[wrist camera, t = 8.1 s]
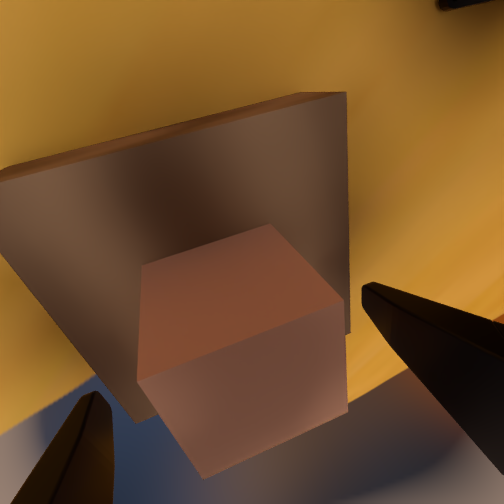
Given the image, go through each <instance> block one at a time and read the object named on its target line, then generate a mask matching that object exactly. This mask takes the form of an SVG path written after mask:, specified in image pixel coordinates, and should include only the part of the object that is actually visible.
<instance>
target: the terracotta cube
mask: <svg viewBox="0 0 504 504" xmlns="http://www.w3.org/2000/svg"><path fill="white" fill-rule="evenodd" d="M137 383H138V384H139V386H140V387H141V389H142V390H143V392H144V393H145V395H146V396H147V398H148V399H149V400H150V402H151V403H152V405H153V406H154V408H155V409H156V411H157V412H158V414H159V415H160V417H161V418H162V420H163V421H164V423H165V424H166V426H167V427H168V428H169V430H170V431H171V433H172V434H173V436H174V437H175V439H176V440H177V442H178V443H179V445H180V446H181V448H182V449H183V451H184V452H185V454H186V455H187V457H188V458H189V459H190V461H191V462H192V464H193V465H194V467H195V468H196V470H197V471H198V473H199V474H200V476H201V477H202V479H203V480H204V479H206V478H208V477H210V476H212V475H214V474H217V473H219V472H221V471H223V470H225V469H227V468H229V467H231V466H234V465H236V464H238V463H240V462H242V461H244V460H246V459H249V458H251V457H253V456H255V455H257V454H259V453H261V452H264V451H266V450H268V449H270V448H272V447H274V446H276V445H279V444H281V443H283V442H285V441H287V440H289V439H291V438H293V437H296V436H298V435H300V434H302V433H304V432H306V431H308V430H310V429H313V428H315V427H317V426H319V425H321V424H323V423H326V422H328V421H330V420H332V419H334V418H336V417H338V416H341V415H343V414H345V413H347V412H348V400H347V372H346V344H345V316H344V300H343V299H342V298H341V297H340V295H339V294H338V293H337V292H336V291H335V290H334V289H333V288H332V287H331V286H330V285H329V284H328V283H327V282H326V281H325V280H324V279H323V278H322V277H321V276H320V275H319V274H318V273H317V272H316V270H315V269H314V268H313V267H312V266H311V265H310V264H309V263H308V262H307V261H306V260H305V259H304V258H303V257H302V256H301V255H300V254H299V253H298V252H297V251H296V250H295V249H294V248H293V246H292V245H291V244H290V243H289V242H288V241H287V240H286V239H285V238H284V237H283V236H282V235H281V234H280V233H279V232H278V231H277V230H276V229H275V228H274V227H273V226H272V225H271V224H267V225H263V226H260V227H257V228H254V229H251V230H248V231H245V232H242V233H239V234H236V235H233V236H230V237H227V238H224V239H221V240H218V241H215V242H212V243H209V244H206V245H203V246H200V247H197V248H193V249H190V250H187V251H184V252H181V253H178V254H175V255H172V256H169V257H166V258H163V259H160V260H157V261H154V262H151V263H148V264H145V265H142V271H141V294H140V318H139V341H138V365H137Z"/></svg>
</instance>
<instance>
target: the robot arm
mask: <svg viewBox="0 0 504 504" xmlns="http://www.w3.org/2000/svg"><path fill="white" fill-rule="evenodd" d="M489 1H494V0H439V6H440V8H441V9H442V10H443V11H449V10H454V9H458V8H463V7H467V6H472V5H476V4H481V3H485V2H489ZM362 306H363V308H364V310H365V312H366V313H367V314H368V316H369V317H370V319H371V320H372V321H373V323H374V324H375V326H376V327H377V329H378V330H379V331H380V333H381V334H382V336H383V337H384V338H385V340H386V341H387V342H388V344H389V345H390V346H391V348H392V349H393V350H394V351H395V352H396V353H397V355H398V356H399V357H400V358H401V359H402V360H403V361H404V363H405V364H406V365H407V366H408V367H409V368H410V369H411V371H412V372H413V373H414V374H415V375H416V376H417V377H418V379H419V380H420V381H421V382H422V383H423V384H424V385H425V386H426V388H427V389H428V390H429V391H430V392H431V393H432V395H433V396H434V397H435V398H436V399H437V400H438V401H439V403H440V404H441V405H442V406H443V407H444V408H445V410H447V412H448V413H449V414H450V415H451V416H452V417H453V419H454V420H455V421H456V422H457V423H458V424H459V426H461V428H462V429H463V430H464V431H465V432H466V434H467V435H468V436H469V437H470V438H471V439H472V440H473V441H474V443H475V444H476V445H477V446H478V447H479V448H480V450H482V452H483V453H484V454H485V455H486V456H487V458H488V459H489V460H490V461H491V462H492V463H493V464H494V465H495V467H496V468H497V469H498V470H499V471H500V473H501V474H502V475H504V324H502V323H499V322H496V321H493V322H492V320H490V319H487V318H484V317H480V316H477V315H474V314H471V313H468V312H465V311H462V310H459V309H456V308H453V307H450V306H447V305H444V304H441V303H438V302H435V301H432V300H429V299H425V298H422V297H419V296H416V295H413V294H410V293H407V292H404V291H401V290H398V289H395V288H392V287H389V286H386V285H383V284H380V283H377V282H370V283H368V284H365V285H363V286H362ZM114 464H115V463H114V441H113V423H112V411H111V407H110V405H109V404H108V402H107V401H106V400H105V399H104V397H103V396H102V395H101V394H100V393H99V392H98V391H93V392H90V393H88V394H85V395H83V396H82V397H81V398H80V399H79V400H78V402H77V404H76V405H75V406H74V408H73V410H72V411H71V413H70V414H69V416H68V417H67V419H66V420H65V422H64V423H63V425H62V426H61V428H60V429H59V431H58V433H57V434H56V435H55V437H54V438H53V440H52V441H51V443H50V444H49V446H48V447H47V449H46V450H45V452H44V454H43V455H42V456H41V458H40V460H39V461H38V463H37V464H36V466H35V467H34V469H33V470H32V472H31V474H30V475H29V476H28V478H27V479H26V481H25V482H24V484H23V485H22V487H21V488H20V490H19V491H18V493H17V494H16V496H15V497H14V499H13V501H12V502H11V504H113V489H114V470H115V469H114V468H115V465H114Z"/></svg>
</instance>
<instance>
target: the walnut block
mask: <svg viewBox="0 0 504 504" xmlns="http://www.w3.org/2000/svg"><path fill="white" fill-rule="evenodd" d="M267 224H271V225H272V226H273V227H274V228H275V229H276V230H277V231H278V232H279V233H280V234H281V235H282V236H283V237H284V238H285V239H286V240H287V241H288V242H289V243H290V244H291V245H292V246H293V248H294V249H295V250H296V251H297V252H298V253H299V254H300V255H301V256H302V257H303V258H304V259H305V260H306V261H307V262H308V263H309V264H310V265H311V266H312V267H313V268H314V269H315V270H316V272H317V273H318V274H319V275H320V276H321V277H322V278H323V279H324V280H325V281H326V282H327V283H328V284H329V285H330V286H331V287H332V288H333V289H334V290H335V291H336V292H337V293H338V294H339V295H340V297H341V298H342V299H343V300H344V316H345V335H347V334H349V333H351V332H350V273H349V214H348V155H347V96H346V92H300V93H296V94H292V95H288V96H284V97H280V98H276V99H272V100H268V101H264V102H260V103H256V104H252V105H248V106H244V107H241V108H237V109H233V110H229V111H225V112H221V113H217V114H213V115H209V116H205V117H201V118H197V119H193V120H189V121H185V122H181V123H178V124H174V125H170V126H166V127H162V128H158V129H154V130H150V131H146V132H142V133H138V134H134V135H130V136H126V137H122V138H118V139H115V140H111V141H107V142H103V143H99V144H95V145H91V146H87V147H83V148H79V149H75V150H71V151H67V152H63V153H59V154H56V155H52V156H48V157H44V158H40V159H36V160H32V161H28V162H24V163H20V164H16V165H12V166H8V167H6V168H4V169H2V170H0V253H1V255H2V256H3V257H4V258H5V260H6V261H7V262H8V263H9V265H10V266H11V267H12V268H13V270H14V271H15V272H16V273H17V275H18V276H19V277H20V278H21V280H22V281H23V282H24V284H25V285H26V286H27V287H28V289H29V290H30V291H31V292H32V294H33V295H34V296H35V297H36V299H37V300H38V301H39V302H40V304H41V305H42V306H43V307H44V309H45V310H46V311H47V312H48V314H49V315H50V316H51V318H52V319H53V320H54V321H55V323H56V324H57V325H58V326H59V328H60V329H61V330H62V331H63V333H64V334H65V335H66V336H67V338H68V339H69V340H70V341H71V343H72V344H73V345H74V347H75V348H76V349H77V350H78V352H79V353H80V354H81V355H82V357H83V358H84V359H85V360H86V362H87V363H88V364H89V365H90V367H91V368H92V369H93V370H94V372H95V373H96V374H97V375H98V377H99V378H100V379H101V381H102V382H103V383H104V384H105V386H106V387H107V388H108V389H109V390H110V392H111V393H112V394H113V396H114V397H115V398H116V399H117V401H118V402H119V403H120V404H121V406H122V407H123V408H124V409H125V411H126V412H127V413H128V415H129V416H130V417H131V418H132V420H133V421H134V422H135V423H139V422H141V421H144V420H146V419H148V418H151V417H153V416H155V415H158V412H157V411H156V409H155V408H154V406H153V405H152V403H151V402H150V400H149V399H148V398H147V396H146V395H145V393H144V392H143V390H142V389H141V387H140V386H139V384H138V383H137V365H138V341H139V318H140V294H141V271H142V265H145V264H148V263H151V262H154V261H157V260H160V259H163V258H166V257H169V256H172V255H175V254H178V253H181V252H184V251H187V250H190V249H193V248H197V247H200V246H203V245H206V244H209V243H212V242H215V241H218V240H221V239H224V238H227V237H230V236H233V235H236V234H239V233H242V232H245V231H248V230H251V229H254V228H257V227H260V226H263V225H267Z"/></svg>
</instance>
